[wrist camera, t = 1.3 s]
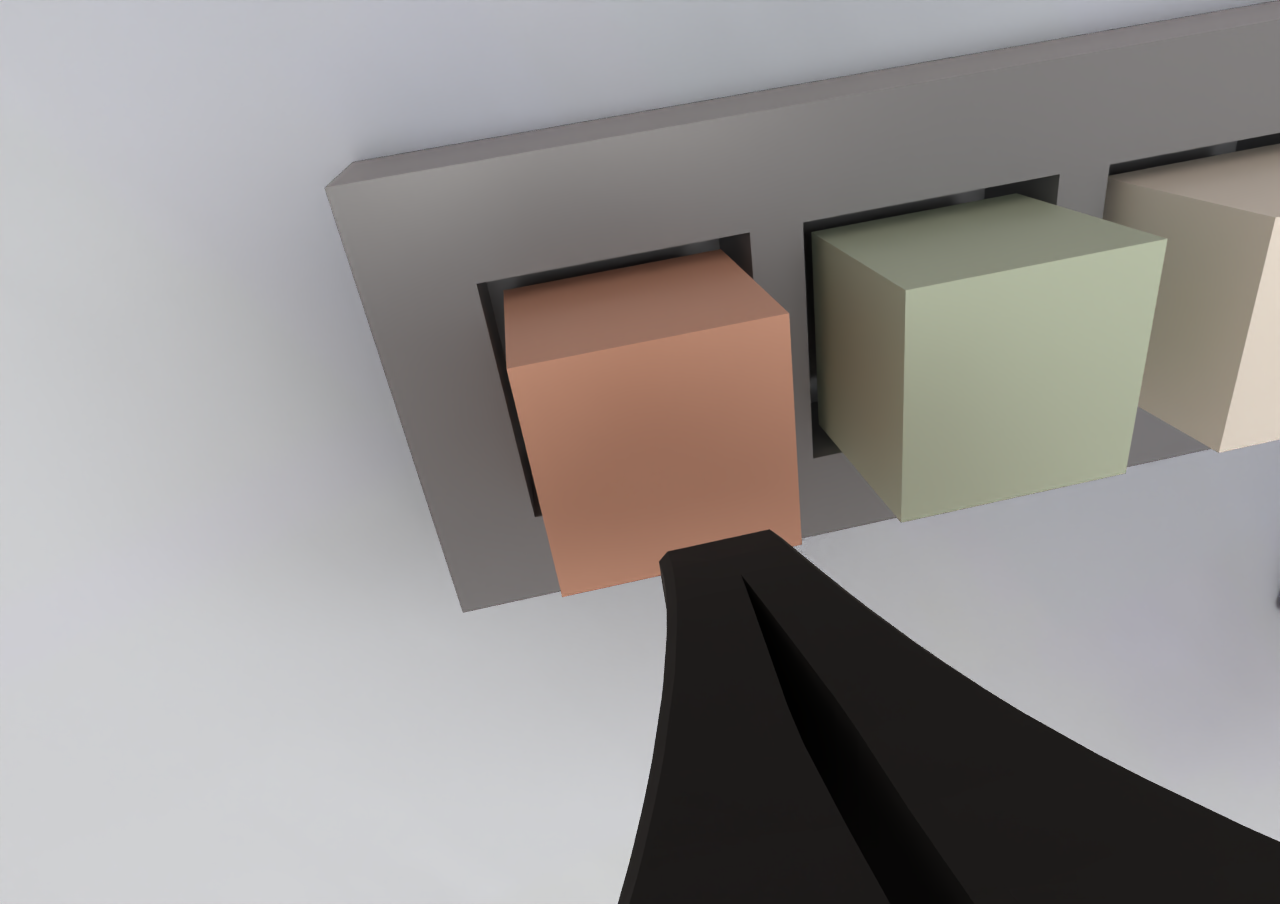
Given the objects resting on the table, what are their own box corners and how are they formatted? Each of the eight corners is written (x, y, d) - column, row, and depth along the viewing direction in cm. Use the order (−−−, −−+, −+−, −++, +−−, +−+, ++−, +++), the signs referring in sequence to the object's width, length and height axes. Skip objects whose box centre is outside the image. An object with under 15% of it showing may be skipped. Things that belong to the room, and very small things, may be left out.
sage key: (1016, 193, 16) (1167, 238, 12) (1000, 386, 18) (1125, 473, 14) (811, 232, 15) (905, 289, 12) (818, 424, 17) (901, 522, 14)
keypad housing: (1331, -9, 17) (1483, -17, 14) (1239, 372, 21) (1342, 419, 19) (353, 162, 15) (324, 187, 13) (467, 536, 20) (463, 612, 17)
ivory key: (1295, 140, 16) (1519, 169, 13) (1248, 334, 18) (1429, 406, 15) (1101, 176, 16) (1275, 217, 12) (1075, 370, 18) (1218, 452, 14)
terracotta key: (720, 248, 15) (789, 313, 12) (738, 440, 17) (802, 544, 14) (503, 290, 15) (507, 368, 11) (547, 480, 17) (562, 596, 13)
